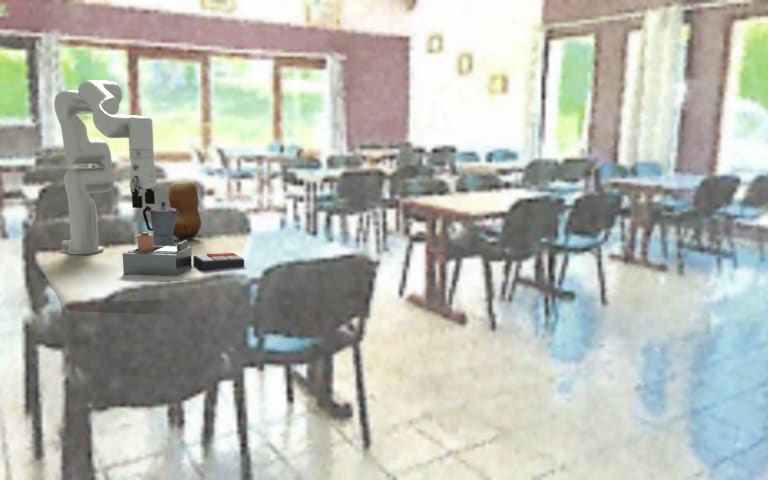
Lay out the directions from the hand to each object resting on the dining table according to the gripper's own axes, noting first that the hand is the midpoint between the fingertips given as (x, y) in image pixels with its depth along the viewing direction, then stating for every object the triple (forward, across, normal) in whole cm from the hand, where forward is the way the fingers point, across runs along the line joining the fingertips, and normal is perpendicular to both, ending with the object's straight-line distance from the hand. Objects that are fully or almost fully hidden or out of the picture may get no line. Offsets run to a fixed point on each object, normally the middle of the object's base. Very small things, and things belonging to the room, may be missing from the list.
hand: (143, 205), depth 225 cm
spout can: (+19, 0, 0) cm, 19 cm away
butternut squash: (+22, +55, +7) cm, 60 cm away
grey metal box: (+22, 0, -4) cm, 22 cm away
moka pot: (+22, +25, +5) cm, 34 cm away
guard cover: (+15, 0, -9) cm, 18 cm away
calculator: (+22, +10, -22) cm, 33 cm away
